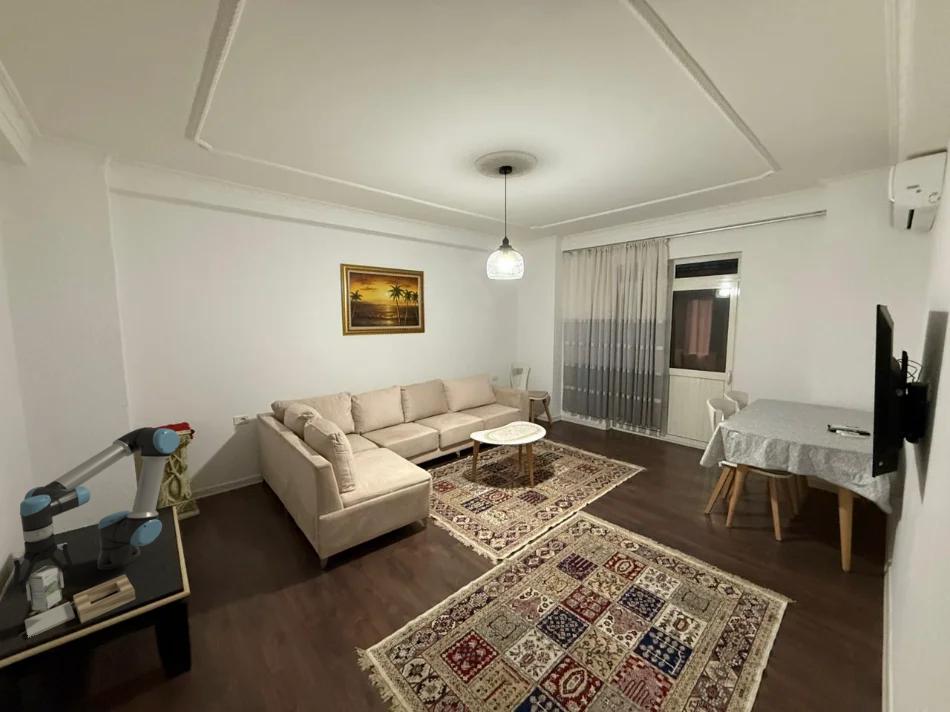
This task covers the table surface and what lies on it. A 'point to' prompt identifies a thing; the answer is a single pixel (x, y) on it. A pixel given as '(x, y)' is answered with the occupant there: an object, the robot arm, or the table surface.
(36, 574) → the syrup box
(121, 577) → the socket block
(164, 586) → the table surface
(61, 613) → the mat
